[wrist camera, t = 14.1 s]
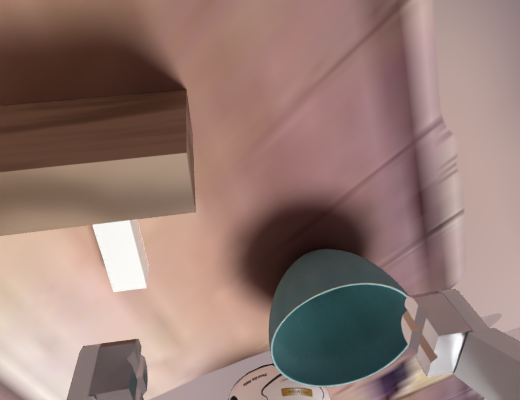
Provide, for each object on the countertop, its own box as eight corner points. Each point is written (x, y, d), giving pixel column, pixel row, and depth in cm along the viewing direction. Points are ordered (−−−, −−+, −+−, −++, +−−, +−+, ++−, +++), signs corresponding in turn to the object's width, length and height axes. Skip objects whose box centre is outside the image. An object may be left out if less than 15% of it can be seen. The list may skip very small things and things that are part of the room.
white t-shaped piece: (65, 152, 43) (49, 178, 38) (137, 145, 44) (130, 169, 39) (104, 272, 52) (95, 306, 47) (163, 264, 53) (160, 297, 48)
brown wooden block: (-18, 107, 39) (-125, 185, 26) (186, 89, 41) (186, 152, 28) (13, 181, 44) (-64, 281, 30) (196, 162, 46) (200, 247, 32)
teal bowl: (360, 314, 64) (394, 382, 54) (249, 319, 61) (262, 393, 50) (391, 220, 55) (439, 280, 45) (262, 220, 52) (282, 285, 41)
